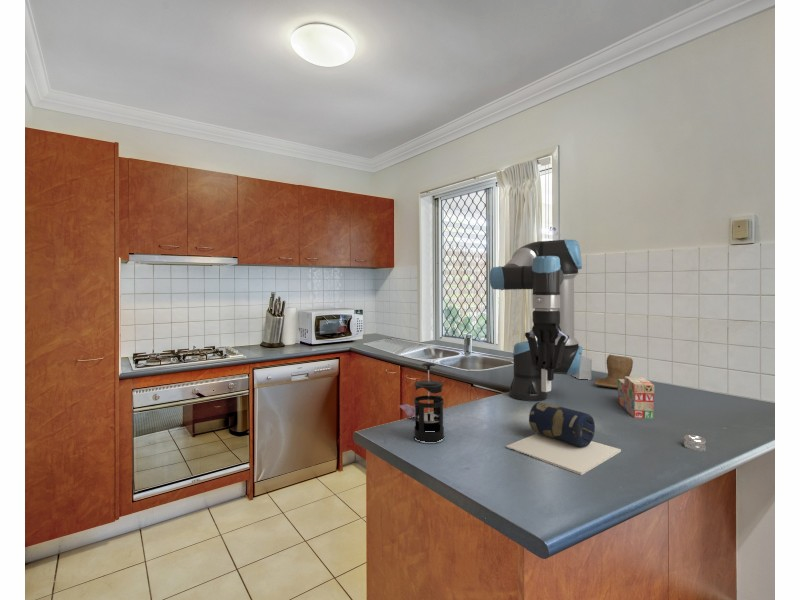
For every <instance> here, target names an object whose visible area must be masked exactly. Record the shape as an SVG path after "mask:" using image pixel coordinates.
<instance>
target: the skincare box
mask: <svg viewBox="0 0 800 600" xmlns="http://www.w3.org/2000/svg"><path fill="white" fill-rule="evenodd" d="M592 361H593V360H592V358H588V357H586V356H582V355H581V362H580V369H579V373H578V374H576V375H572V376H574V377H576V378H578V379H588V380H587V381H591V380H592V368H593V367H592V364H593V363H592ZM572 376H571V377H572ZM574 377H573V378H574ZM576 378H575V379H576ZM578 379H577V380H578Z"/></svg>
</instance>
